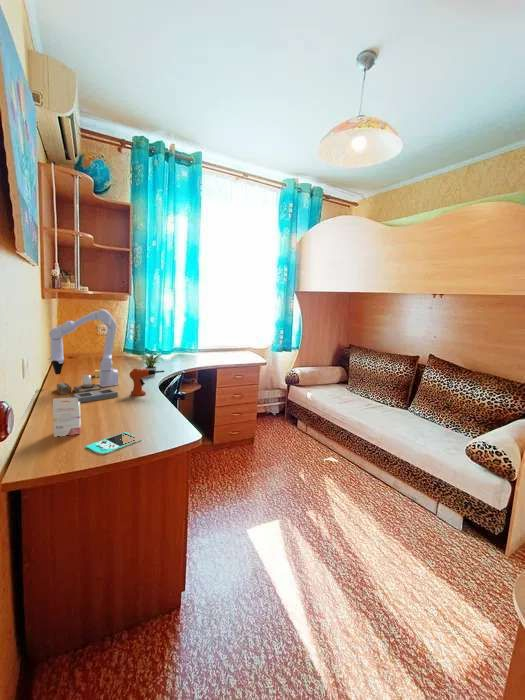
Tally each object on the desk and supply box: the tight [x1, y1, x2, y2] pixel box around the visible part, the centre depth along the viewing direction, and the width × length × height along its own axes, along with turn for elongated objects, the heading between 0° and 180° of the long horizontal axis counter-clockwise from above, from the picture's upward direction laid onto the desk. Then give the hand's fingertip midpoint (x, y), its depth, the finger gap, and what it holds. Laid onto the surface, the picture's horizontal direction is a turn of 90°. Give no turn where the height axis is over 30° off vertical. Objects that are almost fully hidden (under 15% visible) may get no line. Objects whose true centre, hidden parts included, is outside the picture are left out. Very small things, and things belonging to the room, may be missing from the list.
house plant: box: [142, 352, 160, 378], centre depth 211 cm, size 14×14×16 cm
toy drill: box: [128, 368, 165, 397], centre depth 173 cm, size 5×19×15 cm, turn 100°
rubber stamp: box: [94, 357, 103, 378], centre depth 205 cm, size 10×6×12 cm, turn 117°
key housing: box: [56, 382, 72, 395], centre depth 169 cm, size 4×10×4 cm, turn 46°
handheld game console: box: [85, 431, 135, 453], centre depth 115 cm, size 10×16×1 cm, turn 148°
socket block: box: [73, 383, 102, 394], centre depth 172 cm, size 10×10×2 cm
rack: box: [73, 388, 119, 404], centre depth 163 cm, size 18×8×2 cm, turn 136°
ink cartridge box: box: [52, 397, 82, 438], centre depth 120 cm, size 9×5×15 cm, turn 114°
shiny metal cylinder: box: [82, 374, 92, 389], centre depth 171 cm, size 4×4×9 cm
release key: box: [58, 382, 68, 387], centre depth 170 cm, size 2×9×2 cm, turn 46°
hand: (57, 374), depth 176 cm, fingers closed
